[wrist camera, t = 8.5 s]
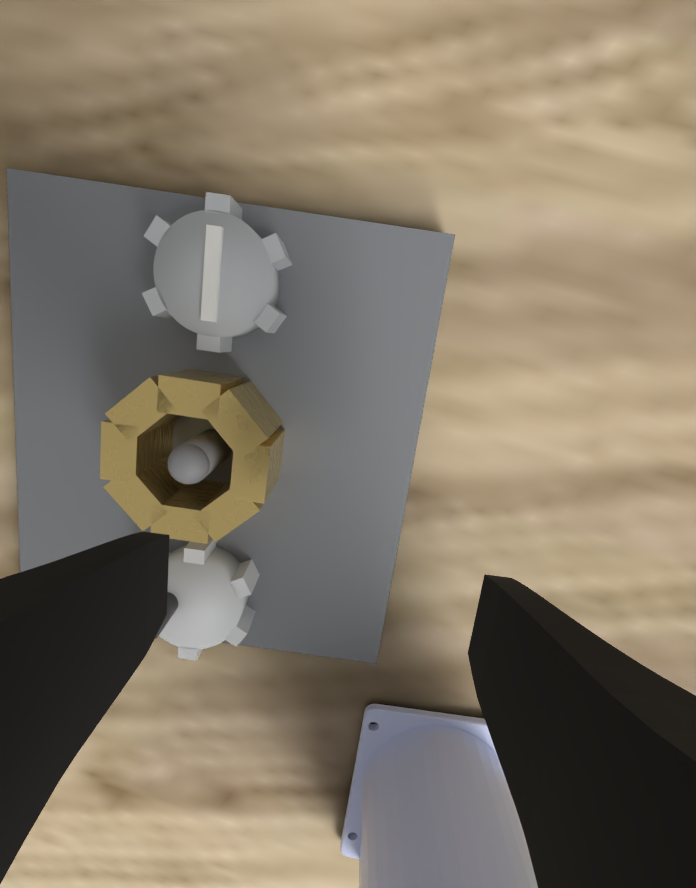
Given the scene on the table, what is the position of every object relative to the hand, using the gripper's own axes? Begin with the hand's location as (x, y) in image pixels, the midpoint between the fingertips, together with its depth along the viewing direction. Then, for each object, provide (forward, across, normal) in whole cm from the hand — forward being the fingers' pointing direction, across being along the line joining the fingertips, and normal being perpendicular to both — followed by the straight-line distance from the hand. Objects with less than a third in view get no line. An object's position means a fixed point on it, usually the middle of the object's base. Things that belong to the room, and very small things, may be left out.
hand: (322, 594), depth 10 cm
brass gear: (+8, +5, -1) cm, 10 cm away
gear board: (+9, +5, -1) cm, 11 cm away
